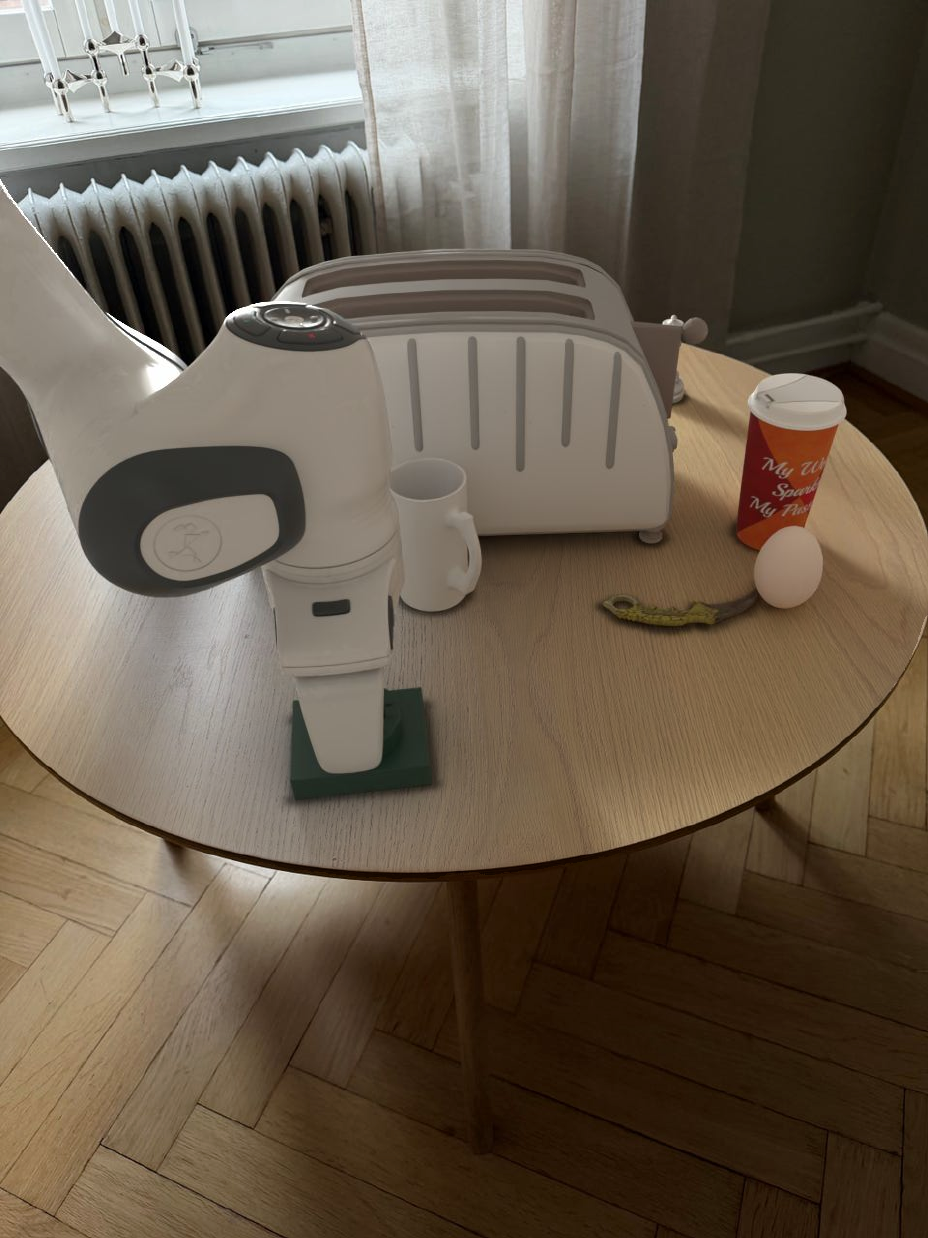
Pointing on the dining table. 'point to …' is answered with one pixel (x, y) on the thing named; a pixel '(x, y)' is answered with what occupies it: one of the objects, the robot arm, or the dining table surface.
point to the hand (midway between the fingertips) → (357, 713)
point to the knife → (677, 617)
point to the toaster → (518, 381)
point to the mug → (435, 533)
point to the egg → (788, 567)
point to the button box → (400, 754)
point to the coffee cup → (785, 452)
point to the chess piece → (678, 382)
